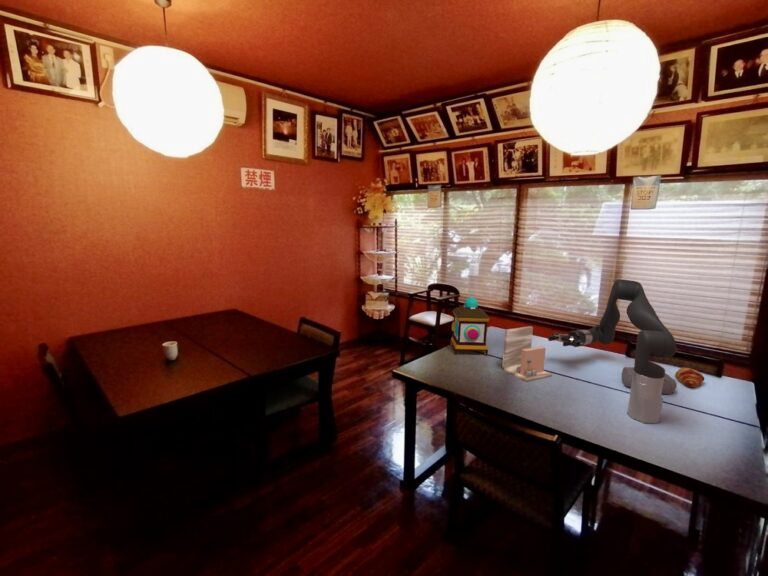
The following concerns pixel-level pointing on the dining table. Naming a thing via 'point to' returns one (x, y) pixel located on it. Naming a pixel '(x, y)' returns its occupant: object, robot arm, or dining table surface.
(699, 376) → the croissant
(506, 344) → the wooden bookend stand
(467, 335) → the decorative lantern
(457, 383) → the dining table surface
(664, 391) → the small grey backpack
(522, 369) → the door
